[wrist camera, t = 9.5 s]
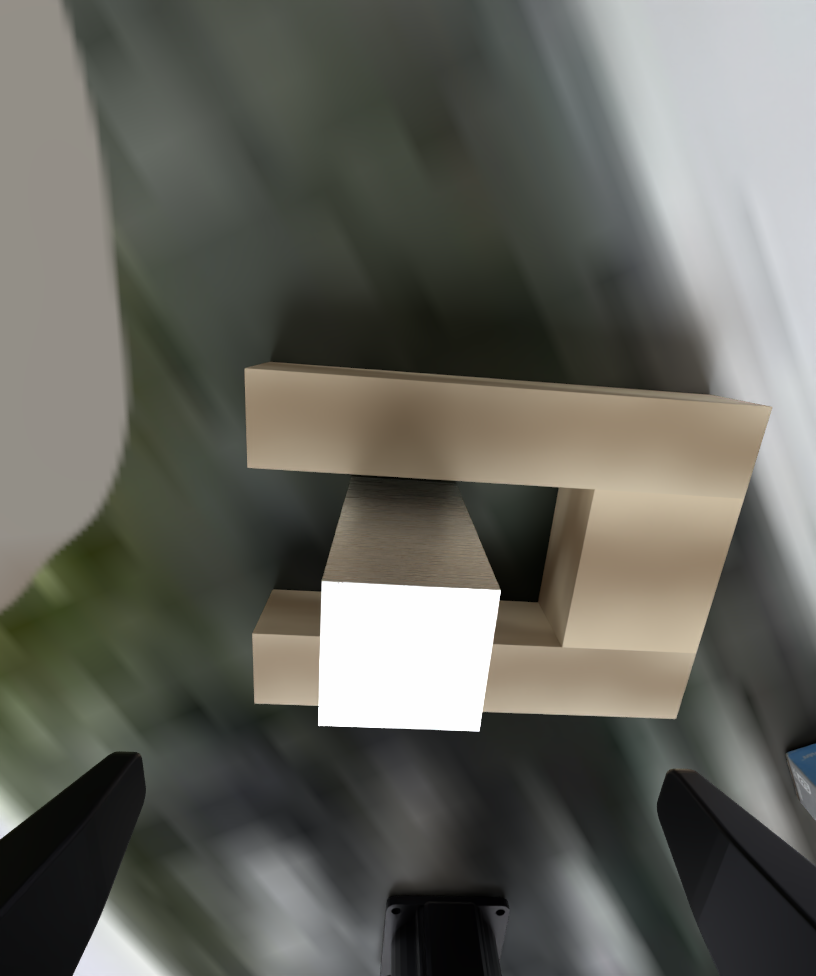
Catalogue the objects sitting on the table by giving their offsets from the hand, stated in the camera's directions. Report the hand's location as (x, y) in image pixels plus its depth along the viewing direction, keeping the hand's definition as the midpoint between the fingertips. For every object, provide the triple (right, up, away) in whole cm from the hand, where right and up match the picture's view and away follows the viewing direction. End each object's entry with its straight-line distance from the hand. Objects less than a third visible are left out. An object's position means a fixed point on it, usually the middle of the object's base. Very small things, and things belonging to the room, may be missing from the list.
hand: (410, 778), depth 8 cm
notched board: (+3, +3, +11) cm, 12 cm away
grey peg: (0, +3, +11) cm, 11 cm away
